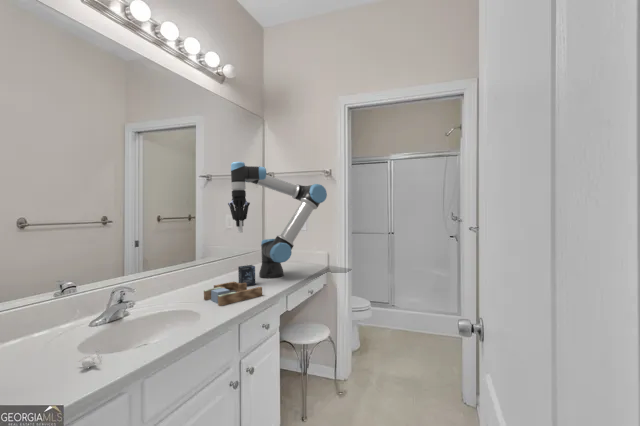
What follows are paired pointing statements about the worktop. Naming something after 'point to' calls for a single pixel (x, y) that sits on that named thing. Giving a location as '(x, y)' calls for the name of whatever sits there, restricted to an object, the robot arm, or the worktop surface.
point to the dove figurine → (91, 359)
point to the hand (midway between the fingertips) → (240, 232)
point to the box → (246, 274)
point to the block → (218, 292)
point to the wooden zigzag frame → (234, 293)
